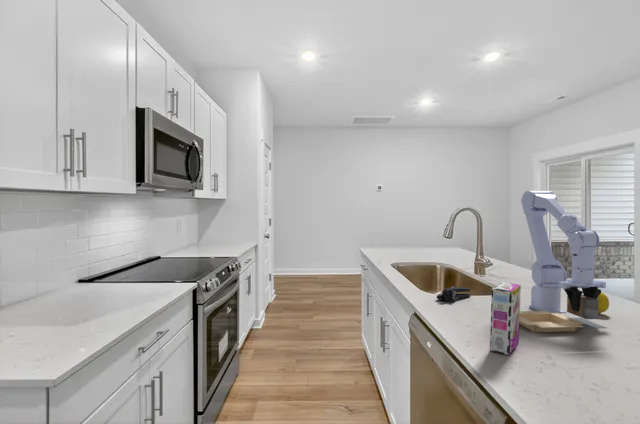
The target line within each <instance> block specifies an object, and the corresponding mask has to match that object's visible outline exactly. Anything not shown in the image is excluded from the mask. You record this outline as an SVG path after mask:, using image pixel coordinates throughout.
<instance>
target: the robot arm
mask: <svg viewBox="0 0 640 424" xmlns="http://www.w3.org/2000/svg"><path fill="white" fill-rule="evenodd" d="M520 203H521V206H522V210H523V213H524V215H525V219H526V223H527V226H528V227H527V228H528V230H529V235H530V238H531V241H532V246H533V251H534V253H535V258H536V261H534V262H533V263H532V264H531V279H532V281H533V283H534V284H533V286H531V290H530V304H528V307H529V308H532V309H535V310H536V311H547V312H550V313H560V314H567V313H568V312H567V310H562V309H561V301H562V300H561V298H562V293H561V292H562V289H563V291H564V292H565V293H566V295H567V296H568V298H569V300H570V304H571V307H572V310H574V311H577V312H579V308H580V299H581V295H584V296H588V297H591V298H594V299H597V297H598V296H599V295H600V294H601V292H602V289H606V288H607V282H606V281H601V280H594V277H595V276H594V273H595V270H594V269H595V248H597V247H598V246H599V243H600V237H599V235H598V233H597V231H596V230H593V229H589V228H586V226H585V225H583V223H582V222H580V221H579V220H578V217H577V216H576V215H573V214H568V212H566V211H565V209H564V208H563V207H562V205H561V204H560V203H559V202H558V197H557V195H556V194H555V193H554V191H552V190H525V191H524V193H523V194H522V196H521V200H520ZM548 213H549V214H551V216H552V217H553V218H554V219H556V221H557V227H558V228H559V229H560V230H561V231H562V232H563V234H564V235H565V236H566V237H567V244H568V245H569V251H570V253H571V280H568V274H567V272H566V269H565V268H564V266H563V264H562V262H561V261H559V260H558V259H556V258H555V257H554V254H553V250H552V246H551V244H550V241H549V237H548V232H547V229H546V225H545V221H544V219H543V218H544V216H545V215H548ZM580 289H581V290H580Z"/></svg>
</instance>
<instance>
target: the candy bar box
mask: <svg viewBox="0 0 640 424" xmlns="http://www.w3.org/2000/svg"><path fill="white" fill-rule="evenodd" d="M521 286H522V285H521V284H517V283H511V282H510V283H509V282H500V283H499V284H498V285H496V286H494V287H492V288H491V305H490V307H491V308H490V335H489V336H490V338H489V339H490V340H489V341H490V342H489V343H490V344H489V351H490V352H494V353H498V354H502V355H504V356H505V355H506V356H510V355H511V353H513V351H514V350H515V349H516V347H517V346H518V344H519V342H520V324H519V317H520V311H521Z"/></svg>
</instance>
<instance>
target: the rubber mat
mask: <svg viewBox="0 0 640 424" xmlns="http://www.w3.org/2000/svg"><path fill="white" fill-rule="evenodd" d="M571 318H572V319H574V320H577V321H579V322H582V323H584V324H579V325H581V326H583V327H578V328H579V329H607V327H606V326H604V325H600V324H598V323H595V322H593V321H591V320H589V319H584V318H582V317H571Z"/></svg>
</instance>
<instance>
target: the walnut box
mask: <svg viewBox="0 0 640 424" xmlns="http://www.w3.org/2000/svg"><path fill="white" fill-rule="evenodd" d="M566 299H567V300H566V312H567V313H568V314H572V315H574V316H578V318H583V319H586V320H598V319H599V314H598V299H594V298H591V297H588V296H584V295H583V294H582V295H581V299H580V308H579V312H577V311H574V310H572V307H571V304H570V300H569V298H568V296H567V297H566Z"/></svg>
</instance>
